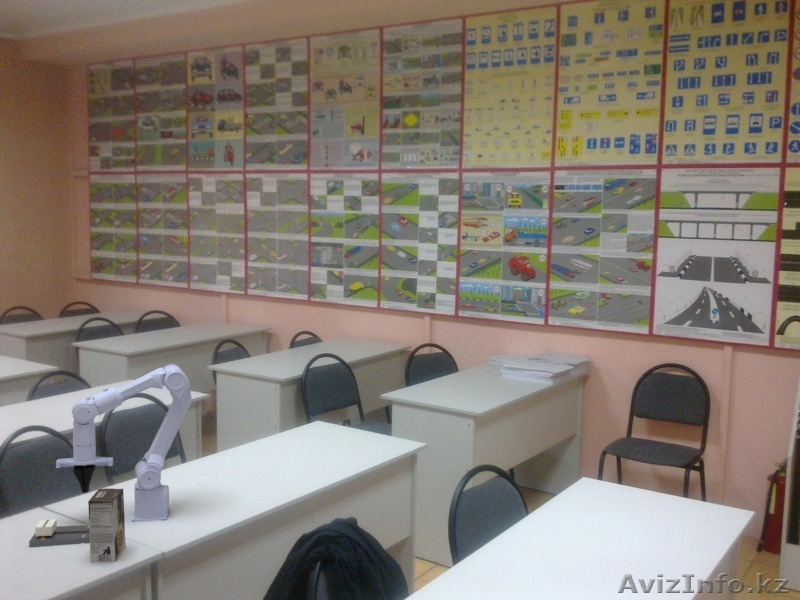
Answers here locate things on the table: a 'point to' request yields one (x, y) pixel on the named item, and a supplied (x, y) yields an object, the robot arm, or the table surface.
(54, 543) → the fader panel
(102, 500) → the coffee box
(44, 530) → the fader knob
